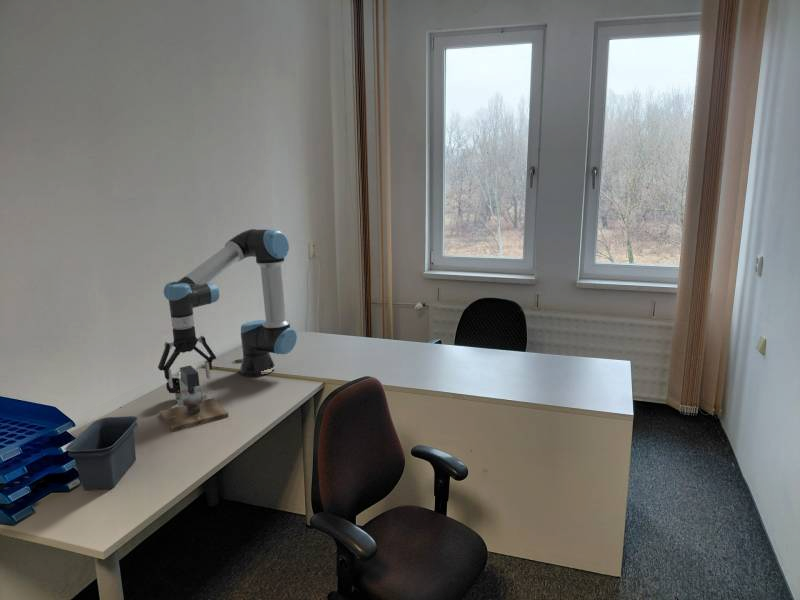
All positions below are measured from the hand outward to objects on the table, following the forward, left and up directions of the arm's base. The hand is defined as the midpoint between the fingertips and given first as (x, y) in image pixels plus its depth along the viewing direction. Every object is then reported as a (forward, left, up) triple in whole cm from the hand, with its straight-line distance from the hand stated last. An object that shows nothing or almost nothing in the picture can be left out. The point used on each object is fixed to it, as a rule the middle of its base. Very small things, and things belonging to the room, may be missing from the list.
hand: (190, 382), depth 205 cm
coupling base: (0, 0, -13) cm, 13 cm away
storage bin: (+33, +28, -13) cm, 45 cm away
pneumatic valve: (0, -19, -13) cm, 23 cm away
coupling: (0, 0, -8) cm, 8 cm away
